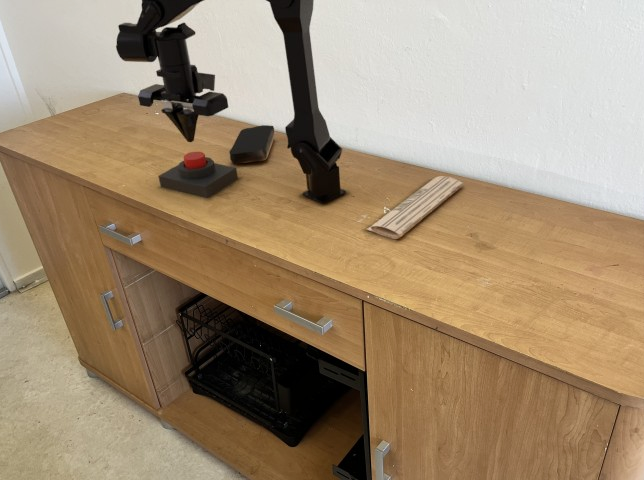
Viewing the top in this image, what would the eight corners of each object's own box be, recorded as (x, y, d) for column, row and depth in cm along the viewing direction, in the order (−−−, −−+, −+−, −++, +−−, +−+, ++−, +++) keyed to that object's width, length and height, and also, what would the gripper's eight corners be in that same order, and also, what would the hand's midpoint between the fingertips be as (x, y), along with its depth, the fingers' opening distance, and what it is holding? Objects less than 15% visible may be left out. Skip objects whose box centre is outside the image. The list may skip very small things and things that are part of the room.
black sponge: (266, 165, 137) (264, 150, 134) (229, 167, 137) (226, 151, 135) (276, 138, 150) (275, 123, 148) (242, 139, 150) (240, 125, 148)
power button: (210, 162, 129) (209, 153, 128) (197, 171, 126) (195, 161, 125) (195, 159, 131) (193, 150, 130) (181, 167, 128) (178, 157, 127)
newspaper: (399, 240, 107) (399, 231, 106) (366, 230, 111) (365, 221, 110) (462, 188, 122) (463, 180, 121) (431, 181, 125) (431, 172, 124)
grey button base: (238, 179, 132) (235, 159, 129) (208, 198, 125) (203, 178, 122) (192, 169, 138) (188, 150, 135) (161, 187, 131) (156, 167, 128)
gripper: (239, 55, 118) (251, 134, 127) (167, 48, 126) (183, 122, 135) (201, 71, 111) (216, 154, 120) (127, 62, 119) (146, 140, 128)
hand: (190, 141), depth 126 cm, fingers closed
